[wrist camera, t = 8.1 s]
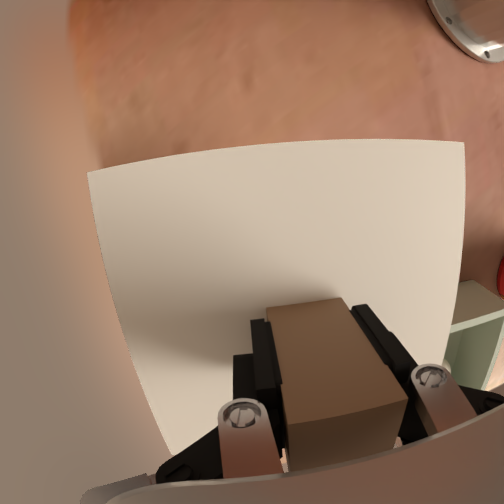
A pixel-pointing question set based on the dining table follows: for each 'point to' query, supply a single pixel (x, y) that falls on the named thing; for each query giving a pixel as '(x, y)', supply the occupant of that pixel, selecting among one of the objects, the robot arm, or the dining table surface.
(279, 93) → the dining table surface
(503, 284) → the canned food
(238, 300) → the lid
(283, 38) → the dining table surface
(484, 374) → the box
